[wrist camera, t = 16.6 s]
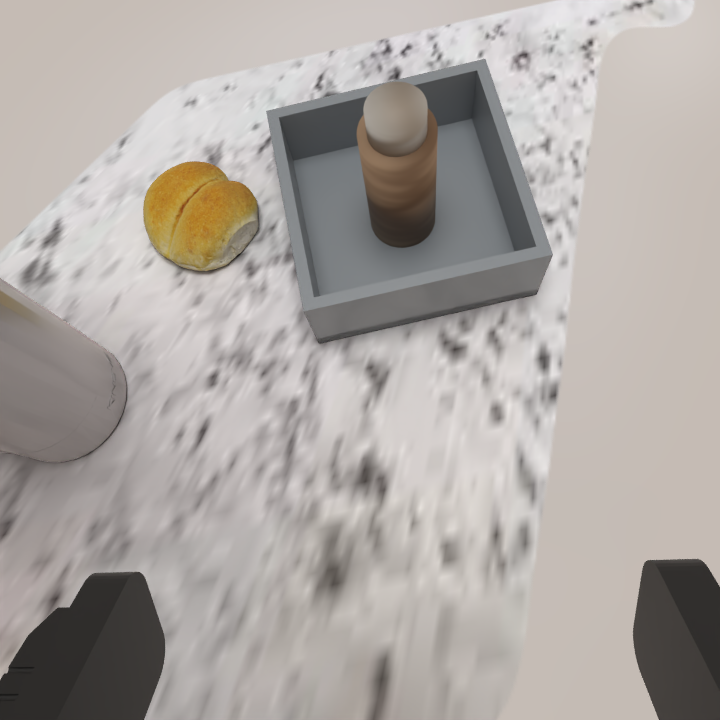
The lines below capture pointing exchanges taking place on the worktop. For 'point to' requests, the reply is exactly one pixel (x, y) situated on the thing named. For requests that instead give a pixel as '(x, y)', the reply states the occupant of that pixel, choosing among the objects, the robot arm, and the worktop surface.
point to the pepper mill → (399, 163)
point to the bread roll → (199, 216)
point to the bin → (452, 215)
